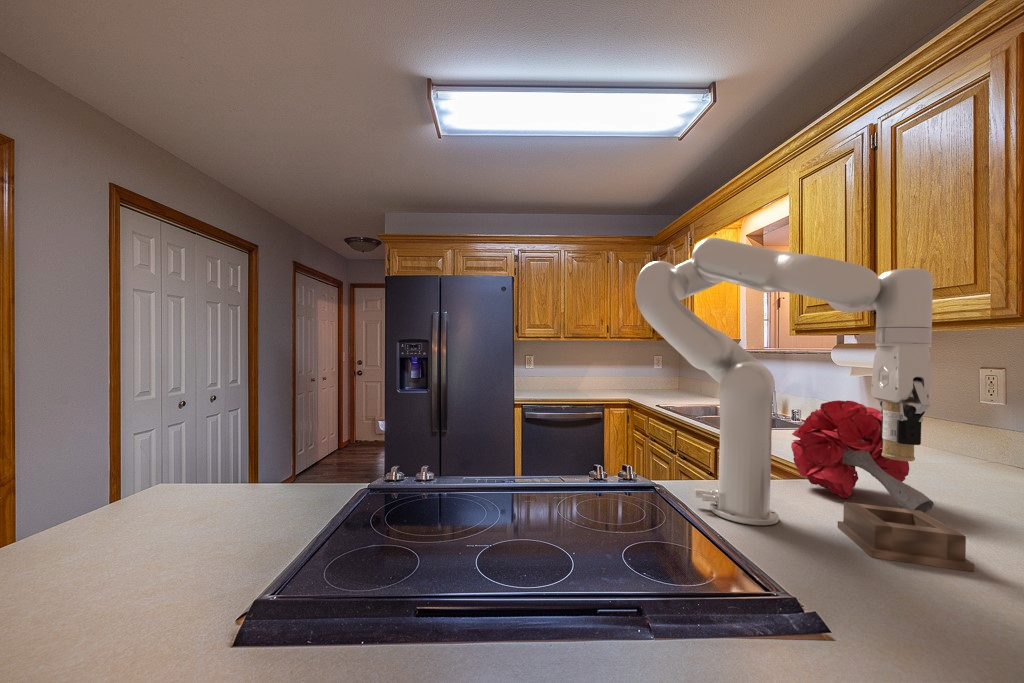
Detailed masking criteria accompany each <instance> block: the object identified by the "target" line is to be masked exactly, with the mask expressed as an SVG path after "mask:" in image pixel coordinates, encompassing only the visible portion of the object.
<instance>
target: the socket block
mask: <svg viewBox="0 0 1024 683" xmlns="http://www.w3.org/2000/svg"><path fill="white" fill-rule="evenodd" d="M837 528H838V529H839V530H840V531H841V532H843V533H844V535H846V536H847V538H849V539H850V540H851V541H852V542H853V543H855V544H856V545H857V546H858V547H859V548H860V549H862V551H864V552H865V553H866V554H867V555H868V556H869V557H871V558H875V559H881V560H890V561H894V562H895V561H896V562H903V563H910V564H915V565H917V564H918V565H922V566H923V565H924V566H931V567H936V568H937V567H938V568H945V569H951V570H958V571H966V572H972V573H974V572H975V564H974V563H973V562H971V561H970V560H968V559H966V556H967V555H966V554H967V553H966V549H967V548H966V546H967V536H966V535H965V534H963V533H961V532H959V531H958V530H955V529H953V528H952V527H950V526H948V525H947V524H945V523H943V522H941V521H939V520H938V519H936V518H934V517H933V516H930V515H929V514H928V513H923V512H922V511H918V510H909V509H902V508H901V507H900V508H898V507H890V506H881V505H874V504H873V505H872V504H866V503H865V504H864V503H855V502H847V501H843V520H841V521H840V520H838V521H837Z"/></svg>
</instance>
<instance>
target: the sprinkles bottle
mask: <svg viewBox="0 0 1024 683" xmlns="http://www.w3.org/2000/svg"><path fill="white" fill-rule="evenodd" d="M905 402H912V403H915V401H914V399H906V400H905ZM906 409H907V410H908V409H909V407H906ZM897 420H901V419H900V412H899V403H896V402H889V401H884V409H883V436H882V438H883V452H882V456H883V457H885V458H889V459H893V460H898V461H908V462H914V461H915V460H916V457H915V445H909V444H900V443H898V442H897Z"/></svg>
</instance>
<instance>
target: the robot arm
mask: <svg viewBox="0 0 1024 683" xmlns="http://www.w3.org/2000/svg"><path fill="white" fill-rule="evenodd" d="M723 282H724V283H725V282H727V283H730V284H734V285H737V286H740V287H744V288H749V289H752V290H756V291H759V292H764V293H777V292H778V293H779V292H780V293H781V292H782V293H790V294H791V293H792V294H794V295H795V294H797V295H801V296H805V297H809V298H812V299H817V300H820V301H825V302H827V304H828V305H829V306H830V307H831V308H833V310H835V311H837V312H841V313H845V314H846V313H859V312H869V311H870V312H871V311H876V314H875V318H876V319H875V347H876V349H875V353H874V359H873V365H872V372H871V373H872V374H871V375H872V376H871V386H870V387H871V388H870V389H871V390H870V394H871V396H872V398H874V399H875V400H878V402H879V406H880V408H881V409H880V412H881V415H882V424H881V437H882V436H883V409H884V401H889V402H896V403H899V412H900V419H901V420H897V442H898V443H900V444H909V445H914V446H920V445H921V444H922V422H924V414H925V413H926V411H927V410H928V409H929V408H930V406H931V404H930V401H931V398H932V388H933V387H932V383H933V382H932V379H933V378H932V377H933V376H932V362H931V361H932V360H931V354H930V348H932V344H933V343H932V339H933V338H932V334H933V333H932V332H933V329H932V327H933V299H934V298H933V295H934V294H933V293H934V292H933V291H934V290H933V289H934V287H933V286H934V277H933V274H932V272H930V270H928V269H926V268H925V269H923V268H913V267H912V268H900V269H899V268H897V269H892V270H887V271H884V272H882V273H881V274H879V275H878V274H877V272H874V271H873V270H872V269H871V268H868V267H867V266H864V265H860V264H856V263H853V262H849V261H848V262H847V261H845V260H839V259H833V258H830V257H826V256H825V257H824V256H820V255H813V254H805V253H796V252H789V251H780V250H776V249H775V250H774V249H769V248H766V247H761V246H760V247H759V246H756V245H750V244H747V243H742V242H737V241H734V240H729V239H725V238H719V237H708V238H705V239H703V240H701V241H699V242H698V243H697V244H696V245H695V247H694V248H693V250H692V252H691V258H690V259H689V260H686V261H684V262H682V263H679V264H677V265H674V264H672V263H671V262H669V261H664V260H656V261H652V262H648V263H647V264H646V265H645V266H644V267H642V269H641V270H640V272H639V274H638V275H637V278H636V280H635V288H634V290H635V291H634V295H635V302H636V305H637V307H638V309H639V312H640V314H641V315H642V317H643V318H644V319H645V321H646V322H647V323H648V324H649V325H650V326H651V327H652V328H653V330H655V331H656V332H657V333H658V335H660V336H661V337H662V338H663V339H664V340H665V341H666V342H667V343H668V344H669V345H670V346H671V347H672V348H674V350H676V351H677V352H678V353H679V354H680V355H681V356H682V357H683V358H684V359H685V360H686V361H687V362H688V363H689V364H690V365H691V366H692V367H694V368H695V369H698V370H699V371H700V370H701V371H705V372H706V373H707V374H708V375H709V376H710V377H711V378H712V379H713V380H715V381H716V382H717V383H718V384H719V388H718V390H719V392H718V395H719V455H718V456H719V457H718V459H719V460H718V461H719V462H718V485H714V488H710V490H707V489H703V488H694V496H693V497H694V498H696V499H701V501H703V502H710V503H709V509H710V511H711V512H712V514H714V515H715V516H718V517H720V518H723V519H725V520H728V521H732V522H736V523H740V524H745V525H752V526H772V525H775V524H777V523H778V522H779V514H778V512H776V511H775V510H774V509H772V508H771V481H772V480H771V475H772V472H771V471H772V434H773V433H772V431H773V430H772V425H773V394H774V393H773V392H774V391H775V385H776V384H775V378H774V376H773V373H772V372H771V370H769V369H768V368H767V367H766V366H765V365H764V364H762V363H761V362H760V361H759V360H758V359H757V358H755V357H754V356H753V355H752V354H750V353H749V351H747V350H746V349H744V348H743V347H742V345H739V343H738V342H736V341H734V339H732V338H731V337H730V336H729V335H727V334H726V333H725V332H722V331H721V330H719V329H715V328H713V327H712V326H710V325H709V324H708V323H706V322H705V321H704V320H703V319H701V318H700V317H699V316H697V315H696V313H694V312H693V311H692V310H691V309H690V308H688V307H687V306H686V305H685V304H683V303H682V302H681V301H682V300H685V299H687V298H689V297H692V296H695V295H696V294H699V293H701V292H703V291H705V290H708V289H710V288H712V287H715V286H716V285H719V284H721V283H723ZM906 399H914V401H915V403H912V402H905V400H906ZM906 407H909V409H908V410H907V409H906Z"/></svg>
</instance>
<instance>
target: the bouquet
mask: <svg viewBox="0 0 1024 683" xmlns="http://www.w3.org/2000/svg"><path fill="white" fill-rule="evenodd" d="M819 408H820V409H816V408H815V411H813V410H812V411H811V412H810V414H809V415H808V416H807V417H806V418H805V420H804V422H803V424H801V425H800V426H799V427H798V428H797V429H796V430H794V431H793V433H791V435H793V436H794V437H796V438H798V439H792V442H791V445H790V446H791V451H792V454H793V463H794V465H795V467H796V469H797V472H798V473H799V475H800V476H802V477H805V478H807V480H808V482H809V483H810V484H811V485H816V486H817V485H819V486H820V487H821V488H824V489H826V490H828V491H829V492H830V493H833V494H835V495H838V496H839V497H841V498H844V499H847V498H849V497H850V496H851V495H852V494H853V489H854V488H855V487H856V484H857V482H858V480H859V475H858V471H857V470H856V467H857V468H859V469H862V470H863V471H865V472H867V473H869V474H870V475H871V477H873V478H875V479H876V480H877V481H878V482H879V483H880V484H881V485H882V486H883V487H884V488H885V490H886V491H887V492H888V494H889V495H890V496H891V497H892V499H893V500H894V502H896V503H897V504H898V506H900V509H909V510H918V511H922V512H923V513H925V514H928V512H929V511H930V510H931V509H932V508H933V506H935V504H934V501H933V500H932V499H930V498H929V497H928V496H927V495H926V494H924V493H923V492H921V491H919V490H918V489H916V488H914V487H912V486H911V485H909V484H906V483H905V482H904V481H905V480H906V477H907V476H909V473H910V463H909V461H898V460H893V459H889V458H885V457H883V456H882V452H883V438H882V437H881V424H882V415H881V410H879V409H877V408H876V407H875V408H874V407H869V406H866V405H864V404H862V403H859V402H857V401H854V400H846V401H845V400H834V401H833V400H832V401H826V402H822V403H821V404H820V407H819Z"/></svg>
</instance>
